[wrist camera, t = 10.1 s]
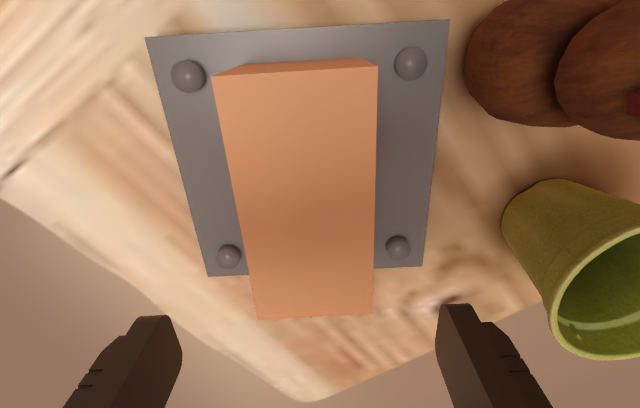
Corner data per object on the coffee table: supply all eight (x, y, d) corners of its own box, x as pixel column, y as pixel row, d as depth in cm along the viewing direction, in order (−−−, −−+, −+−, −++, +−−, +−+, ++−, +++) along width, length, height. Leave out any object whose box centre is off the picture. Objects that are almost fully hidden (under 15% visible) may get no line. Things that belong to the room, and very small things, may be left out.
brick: (359, 57, 18) (378, 66, 12) (359, 251, 24) (372, 313, 18) (241, 64, 18) (210, 76, 13) (271, 255, 24) (258, 319, 18)
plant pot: (499, 150, 22) (599, 212, 14) (634, 157, 22) (804, 222, 14) (463, 263, 26) (525, 358, 18) (577, 267, 26) (685, 363, 19)
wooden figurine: (442, 110, 21) (674, 246, 7) (451, 3, 18) (841, -91, 5) (551, 101, 20) (994, 222, 7) (576, -9, 18) (1360, -142, 4)
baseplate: (440, 20, 18) (455, 18, 16) (416, 254, 26) (425, 273, 24) (156, 37, 19) (136, 37, 16) (213, 264, 26) (204, 283, 24)
